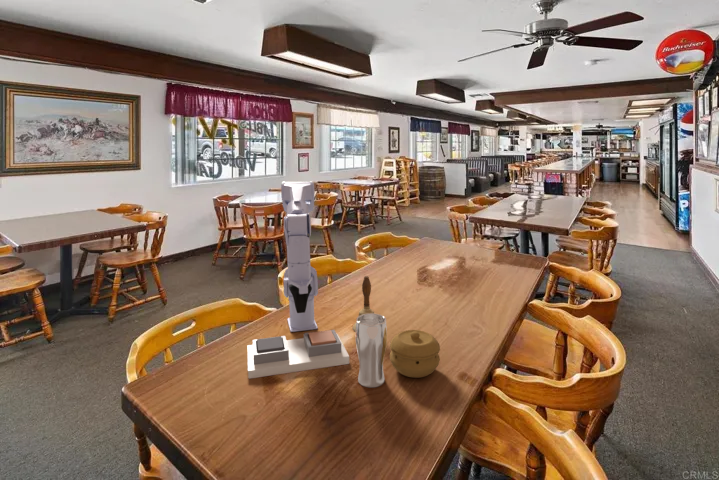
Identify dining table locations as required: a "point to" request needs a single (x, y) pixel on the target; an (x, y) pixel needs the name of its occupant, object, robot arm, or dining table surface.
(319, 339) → the terracotta key
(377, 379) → the beer glass
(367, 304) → the hand bell
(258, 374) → the button panel
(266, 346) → the charcoal key
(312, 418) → the dining table surface
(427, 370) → the pot
